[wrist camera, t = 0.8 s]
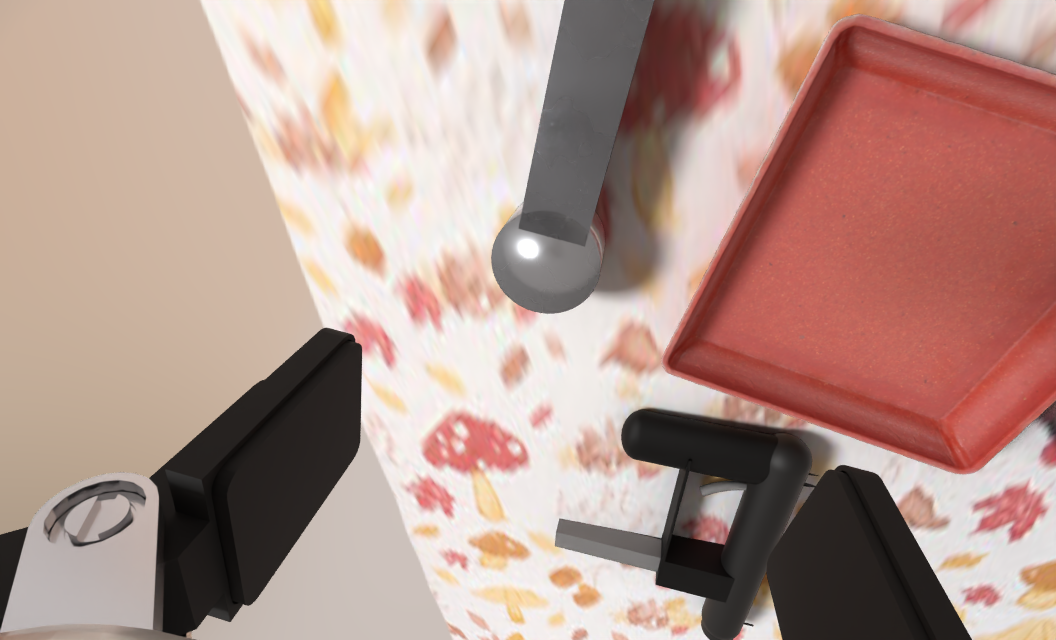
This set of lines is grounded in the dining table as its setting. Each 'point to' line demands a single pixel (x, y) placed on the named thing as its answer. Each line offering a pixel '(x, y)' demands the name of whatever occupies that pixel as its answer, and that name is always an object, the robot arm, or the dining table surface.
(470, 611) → the dining table surface
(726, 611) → the door handle
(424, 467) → the dining table surface
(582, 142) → the ball joint lever
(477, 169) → the dining table surface
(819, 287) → the plant saucer
